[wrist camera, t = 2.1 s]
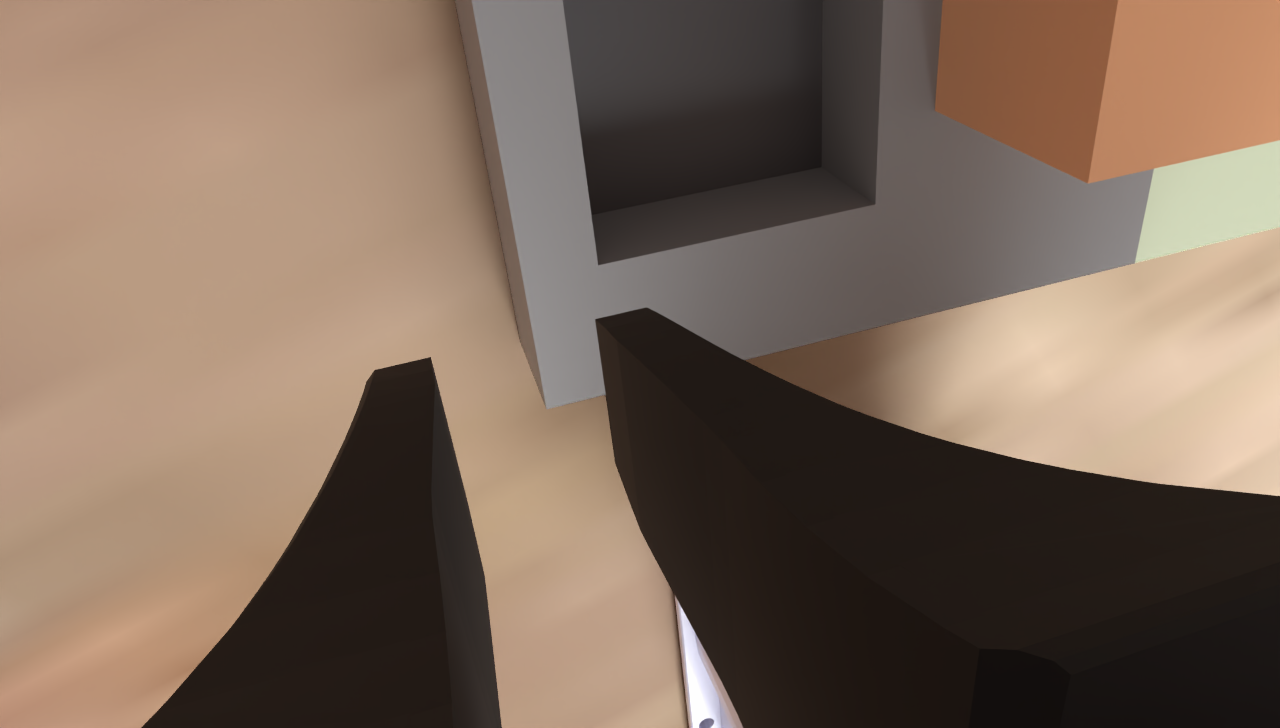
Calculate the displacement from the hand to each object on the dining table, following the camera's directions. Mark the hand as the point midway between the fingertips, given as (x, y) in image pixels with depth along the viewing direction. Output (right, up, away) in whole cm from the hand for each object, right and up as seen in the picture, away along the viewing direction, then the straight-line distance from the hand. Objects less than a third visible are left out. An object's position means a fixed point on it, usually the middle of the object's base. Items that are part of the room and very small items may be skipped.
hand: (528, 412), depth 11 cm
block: (+9, +8, +7) cm, 14 cm away
